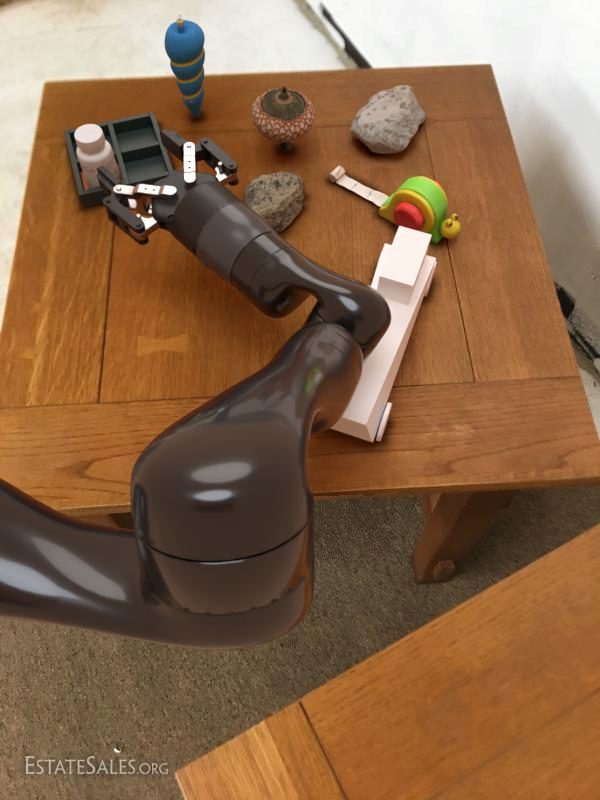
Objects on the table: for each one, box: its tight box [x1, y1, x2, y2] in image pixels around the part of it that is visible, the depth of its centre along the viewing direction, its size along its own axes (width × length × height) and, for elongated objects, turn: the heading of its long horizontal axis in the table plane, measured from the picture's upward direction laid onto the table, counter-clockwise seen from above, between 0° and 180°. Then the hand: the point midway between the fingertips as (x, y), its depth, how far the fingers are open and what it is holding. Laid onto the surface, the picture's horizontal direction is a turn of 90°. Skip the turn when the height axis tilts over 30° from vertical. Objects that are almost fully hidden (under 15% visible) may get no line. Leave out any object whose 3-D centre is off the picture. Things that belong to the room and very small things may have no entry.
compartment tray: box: [63, 111, 174, 209], centre depth 87 cm, size 12×12×2 cm
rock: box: [244, 170, 305, 234], centre depth 82 cm, size 7×8×4 cm
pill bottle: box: [74, 123, 120, 189], centre depth 82 cm, size 4×4×8 cm
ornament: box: [163, 14, 206, 119], centre depth 86 cm, size 5×5×15 cm
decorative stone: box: [350, 84, 427, 155], centre depth 90 cm, size 12×11×5 cm
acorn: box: [251, 86, 316, 152], centre depth 85 cm, size 8×8×10 cm
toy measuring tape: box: [328, 165, 462, 245], centre depth 82 cm, size 6×20×7 cm, turn 51°
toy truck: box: [330, 226, 438, 443], centre depth 71 cm, size 25×7×9 cm, turn 160°
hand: (132, 154), depth 72 cm, fingers open, 8 cm apart
